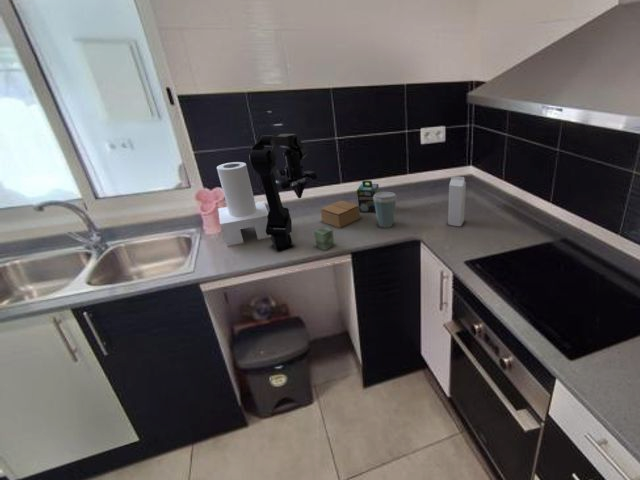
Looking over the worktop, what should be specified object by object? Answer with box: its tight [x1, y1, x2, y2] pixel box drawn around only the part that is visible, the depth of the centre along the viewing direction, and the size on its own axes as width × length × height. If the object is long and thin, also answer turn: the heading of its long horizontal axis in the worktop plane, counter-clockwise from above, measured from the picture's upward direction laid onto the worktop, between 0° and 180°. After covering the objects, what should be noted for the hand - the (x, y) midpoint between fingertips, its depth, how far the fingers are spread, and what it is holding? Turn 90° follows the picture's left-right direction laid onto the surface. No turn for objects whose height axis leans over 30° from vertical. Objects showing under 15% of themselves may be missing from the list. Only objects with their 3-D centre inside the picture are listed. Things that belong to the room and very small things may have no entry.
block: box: [314, 226, 335, 251], centre depth 154 cm, size 5×5×7 cm
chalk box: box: [356, 180, 380, 213], centre depth 187 cm, size 9×9×15 cm
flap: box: [320, 204, 349, 215], centre depth 173 cm, size 6×12×1 cm, turn 54°
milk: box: [447, 175, 467, 227], centre depth 169 cm, size 6×6×22 cm
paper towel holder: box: [216, 161, 271, 247], centre depth 160 cm, size 19×19×30 cm
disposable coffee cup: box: [373, 191, 398, 228], centre depth 170 cm, size 11×11×15 cm
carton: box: [320, 200, 361, 229], centre depth 177 cm, size 13×12×7 cm
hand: (299, 197), depth 171 cm, fingers closed
